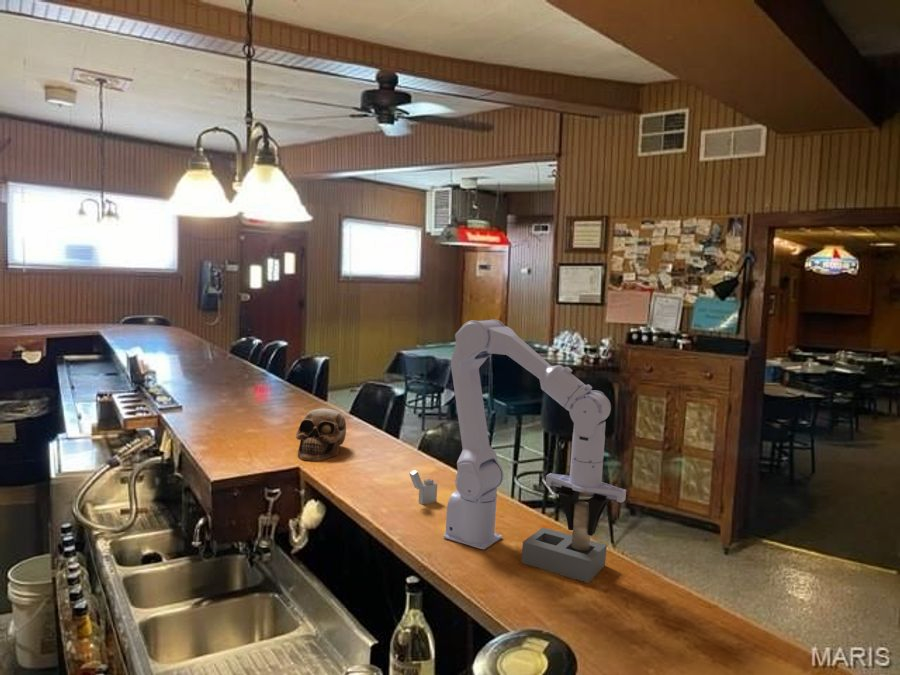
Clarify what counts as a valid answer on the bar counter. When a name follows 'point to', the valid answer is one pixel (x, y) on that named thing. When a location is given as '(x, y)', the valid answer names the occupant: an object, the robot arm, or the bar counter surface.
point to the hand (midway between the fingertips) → (581, 531)
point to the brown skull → (321, 434)
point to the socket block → (563, 555)
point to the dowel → (581, 526)
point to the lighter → (424, 488)
